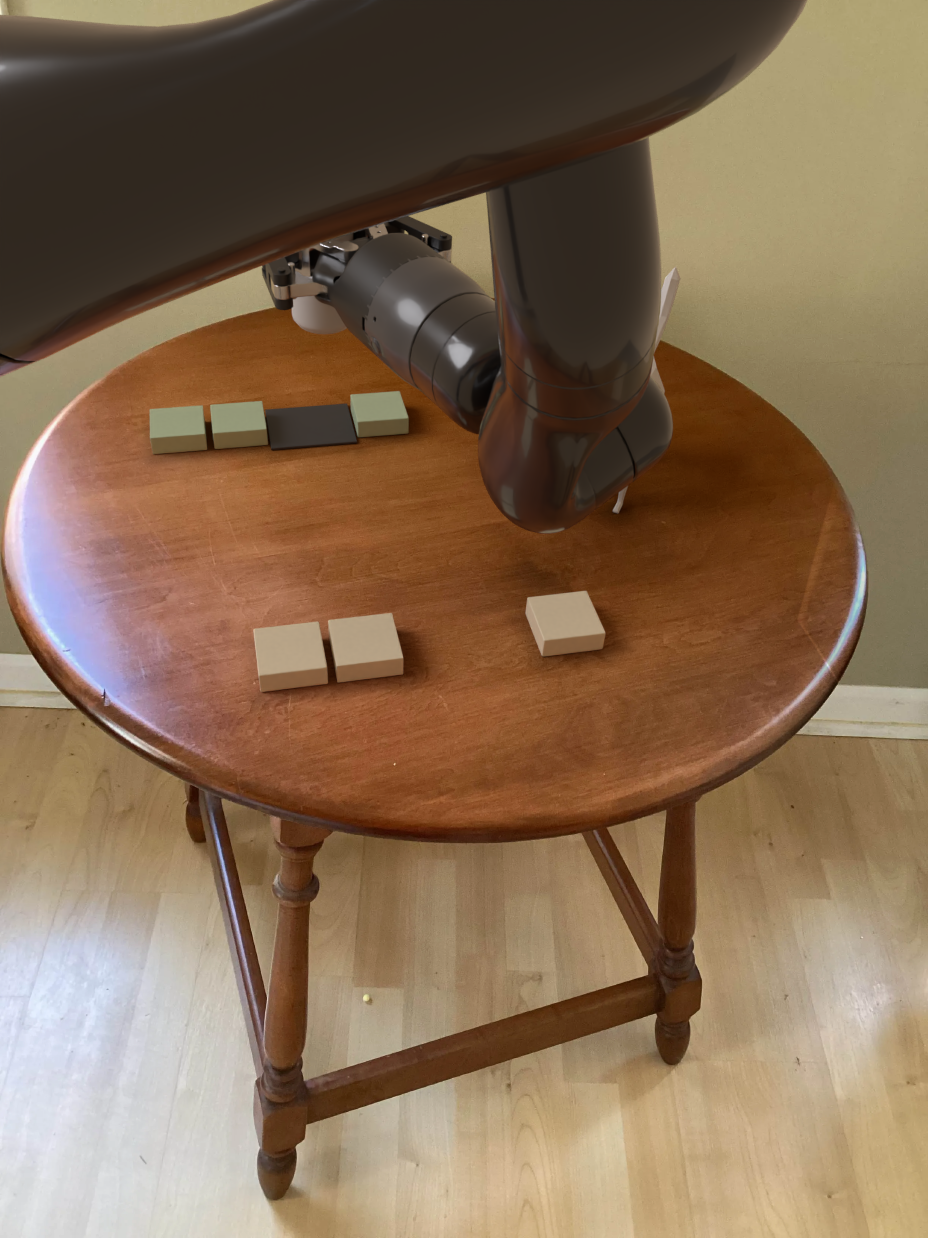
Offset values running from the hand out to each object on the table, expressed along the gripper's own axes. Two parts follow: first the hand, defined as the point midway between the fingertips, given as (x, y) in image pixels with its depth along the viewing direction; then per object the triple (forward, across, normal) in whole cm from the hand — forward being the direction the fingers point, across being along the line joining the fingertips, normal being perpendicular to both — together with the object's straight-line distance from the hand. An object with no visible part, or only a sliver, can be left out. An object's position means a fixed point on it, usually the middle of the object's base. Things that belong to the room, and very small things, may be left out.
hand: (303, 218), depth 77 cm
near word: (-27, +5, +19) cm, 33 cm away
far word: (+2, +1, +19) cm, 19 cm away
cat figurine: (-16, -20, +19) cm, 32 cm away
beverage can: (-3, 0, +7) cm, 8 cm away
